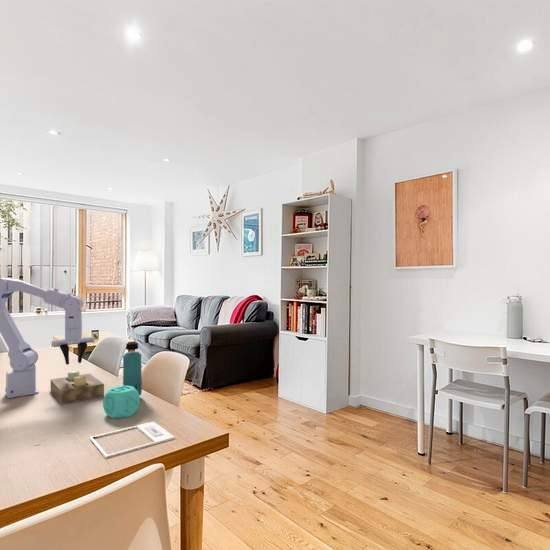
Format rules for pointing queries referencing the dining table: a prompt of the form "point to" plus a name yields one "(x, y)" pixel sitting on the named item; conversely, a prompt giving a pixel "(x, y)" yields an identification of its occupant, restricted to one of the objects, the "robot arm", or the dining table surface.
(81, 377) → the mustard peg
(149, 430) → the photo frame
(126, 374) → the beverage bottle
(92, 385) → the peg block
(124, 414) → the decorative dice
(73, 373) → the sage peg
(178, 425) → the dining table surface
